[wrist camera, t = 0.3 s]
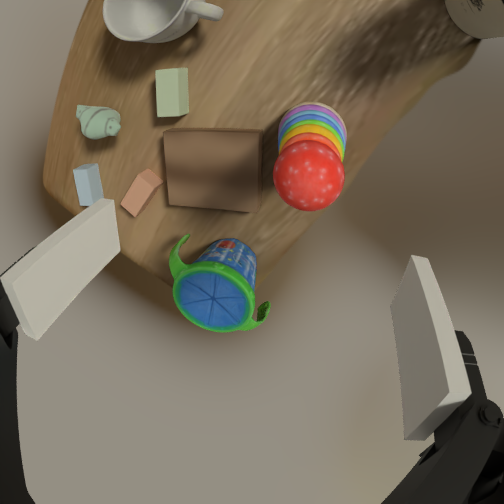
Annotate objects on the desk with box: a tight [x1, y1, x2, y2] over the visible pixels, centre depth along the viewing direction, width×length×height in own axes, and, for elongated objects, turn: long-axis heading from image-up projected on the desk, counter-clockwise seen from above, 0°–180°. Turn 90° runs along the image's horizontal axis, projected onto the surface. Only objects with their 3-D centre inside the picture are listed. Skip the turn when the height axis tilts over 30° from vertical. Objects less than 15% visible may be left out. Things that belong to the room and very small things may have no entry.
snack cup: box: [169, 234, 270, 332], centre depth 43 cm, size 16×10×10 cm
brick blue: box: [73, 164, 104, 206], centre depth 45 cm, size 6×3×3 cm, turn 0°
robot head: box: [76, 105, 121, 140], centre depth 37 cm, size 8×4×7 cm, turn 62°
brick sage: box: [156, 68, 189, 117], centre depth 35 cm, size 6×3×3 cm, turn 179°
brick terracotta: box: [121, 168, 164, 217], centre depth 43 cm, size 6×3×3 cm, turn 140°
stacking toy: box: [273, 102, 347, 211], centre depth 28 cm, size 8×8×19 cm
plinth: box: [163, 128, 263, 213], centre depth 39 cm, size 10×12×2 cm
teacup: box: [103, 0, 223, 43], centre depth 27 cm, size 14×11×8 cm
